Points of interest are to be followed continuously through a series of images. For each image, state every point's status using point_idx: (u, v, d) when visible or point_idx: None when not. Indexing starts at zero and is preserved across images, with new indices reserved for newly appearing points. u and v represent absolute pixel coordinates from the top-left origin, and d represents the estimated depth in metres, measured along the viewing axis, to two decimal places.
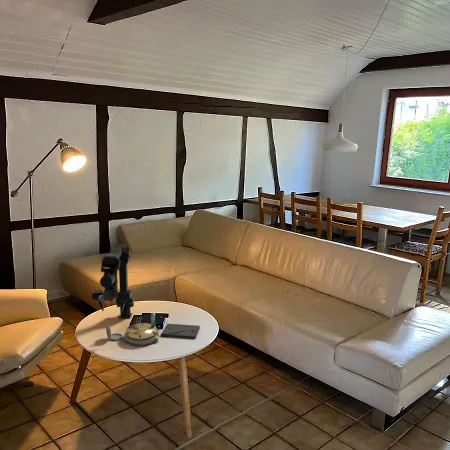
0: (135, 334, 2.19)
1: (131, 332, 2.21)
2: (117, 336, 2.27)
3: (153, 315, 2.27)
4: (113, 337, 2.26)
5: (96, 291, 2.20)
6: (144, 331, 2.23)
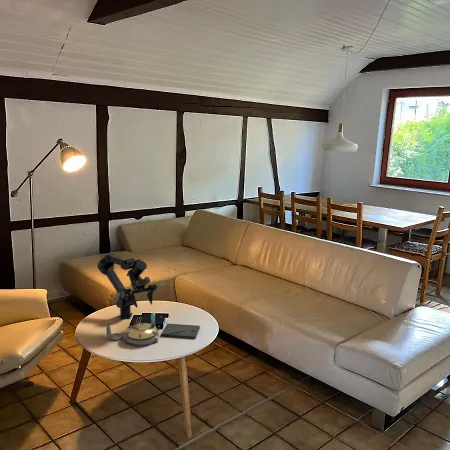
0: (135, 334, 2.19)
1: (131, 332, 2.21)
2: (117, 336, 2.27)
3: (153, 315, 2.27)
4: (113, 337, 2.26)
5: None
6: (144, 331, 2.23)
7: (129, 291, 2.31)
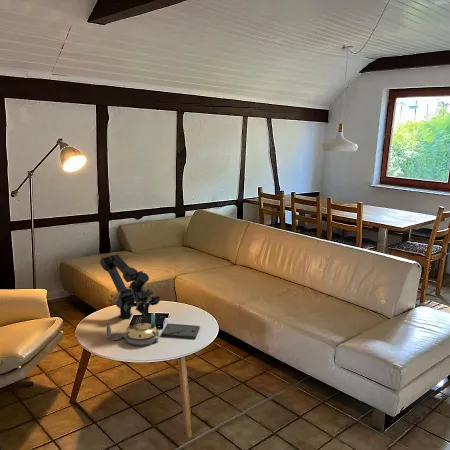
0: (135, 334, 2.19)
1: (131, 332, 2.21)
2: (117, 336, 2.27)
3: (153, 315, 2.27)
4: (113, 337, 2.26)
5: None
6: (144, 331, 2.23)
7: (132, 303, 2.30)
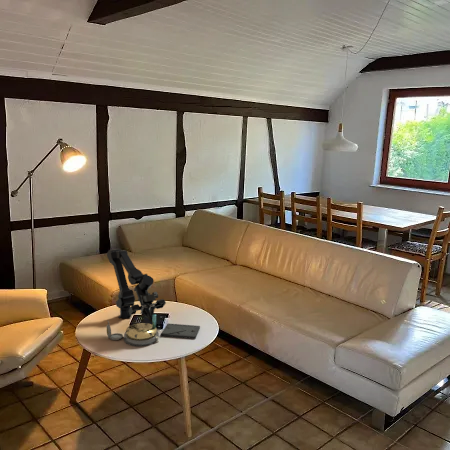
0: (132, 333, 2.20)
1: (130, 331, 2.22)
2: (117, 336, 2.27)
3: (154, 316, 2.25)
4: (113, 337, 2.26)
5: None
6: (142, 331, 2.23)
7: (137, 307, 2.25)
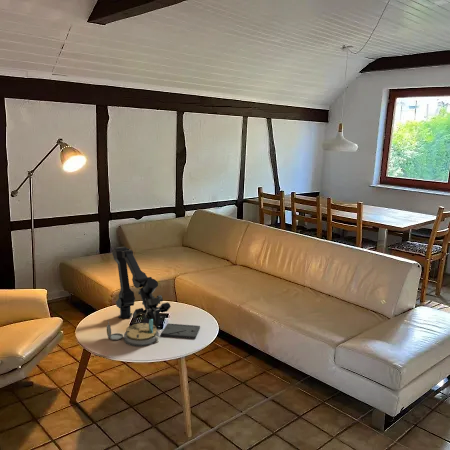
0: (128, 329, 2.24)
1: (132, 327, 2.27)
2: (117, 336, 2.27)
3: (149, 321, 2.20)
4: (113, 337, 2.26)
5: None
6: (138, 331, 2.23)
7: (141, 311, 2.21)
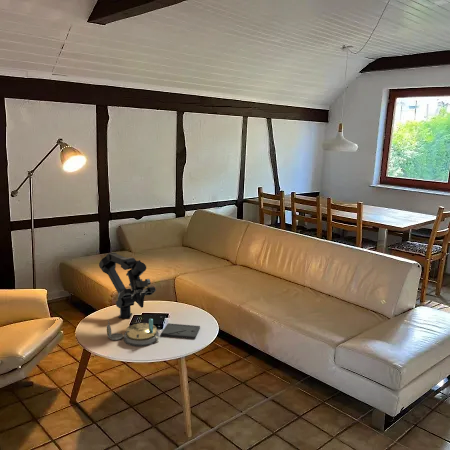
0: (128, 329, 2.24)
1: (132, 327, 2.27)
2: (117, 336, 2.27)
3: (149, 321, 2.20)
4: (113, 337, 2.26)
5: None
6: (138, 331, 2.23)
7: (129, 291, 2.31)
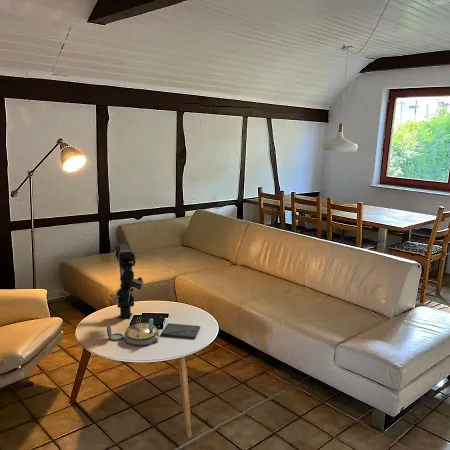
0: (128, 329, 2.24)
1: (132, 327, 2.27)
2: (118, 336, 2.27)
3: (149, 321, 2.20)
4: (114, 337, 2.26)
5: (123, 289, 2.28)
6: (138, 331, 2.23)
7: (130, 293, 2.29)
